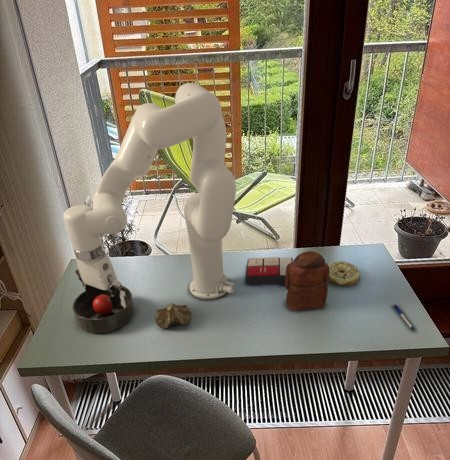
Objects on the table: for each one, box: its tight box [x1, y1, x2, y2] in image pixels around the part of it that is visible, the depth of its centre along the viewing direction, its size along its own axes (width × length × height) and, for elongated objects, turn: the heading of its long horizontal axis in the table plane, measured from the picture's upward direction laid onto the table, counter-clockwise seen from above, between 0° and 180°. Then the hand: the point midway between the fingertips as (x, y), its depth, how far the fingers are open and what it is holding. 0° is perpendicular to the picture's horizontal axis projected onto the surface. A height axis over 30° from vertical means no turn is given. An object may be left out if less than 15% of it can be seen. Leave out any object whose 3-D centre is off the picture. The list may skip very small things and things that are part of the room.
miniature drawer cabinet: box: [245, 256, 294, 286], centre depth 141 cm, size 11×4×15 cm
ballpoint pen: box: [393, 304, 414, 330], centre depth 122 cm, size 10×1×1 cm, turn 10°
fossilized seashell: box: [154, 303, 193, 329], centre depth 124 cm, size 8×7×10 cm
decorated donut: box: [327, 260, 361, 287], centre depth 138 cm, size 10×11×4 cm
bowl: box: [72, 283, 136, 334], centre depth 128 cm, size 17×17×6 cm
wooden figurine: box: [284, 250, 330, 312], centre depth 124 cm, size 12×6×18 cm, turn 97°
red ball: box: [93, 294, 113, 315], centre depth 128 cm, size 6×6×6 cm
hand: (104, 300), depth 127 cm, fingers open, 9 cm apart
